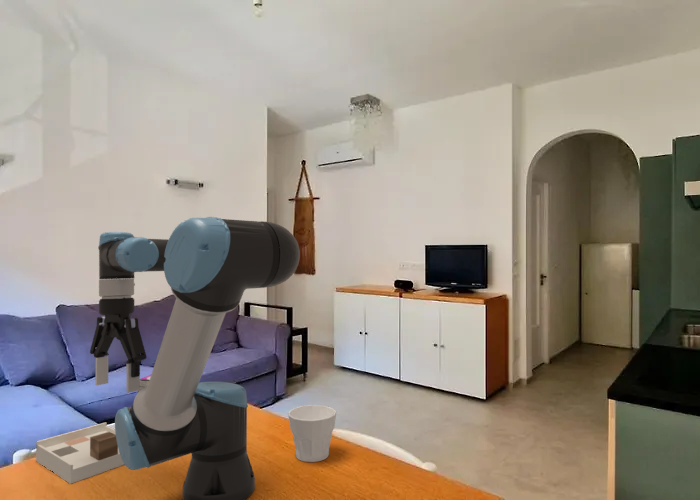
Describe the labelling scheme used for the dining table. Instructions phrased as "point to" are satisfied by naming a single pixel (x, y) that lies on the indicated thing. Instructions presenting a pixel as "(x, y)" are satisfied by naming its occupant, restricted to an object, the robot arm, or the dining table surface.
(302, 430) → the cup
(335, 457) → the dining table surface
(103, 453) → the block
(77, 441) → the tray
